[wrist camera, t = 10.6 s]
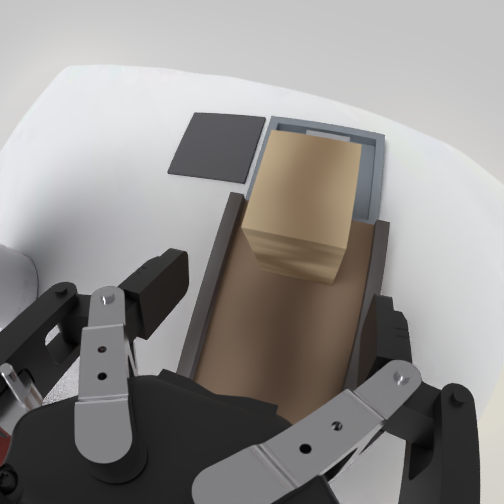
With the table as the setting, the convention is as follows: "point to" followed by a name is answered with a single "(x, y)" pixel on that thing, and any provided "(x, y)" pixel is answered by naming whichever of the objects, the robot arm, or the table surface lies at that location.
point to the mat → (218, 147)
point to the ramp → (281, 321)
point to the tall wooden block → (302, 205)
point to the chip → (328, 135)
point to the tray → (368, 166)
